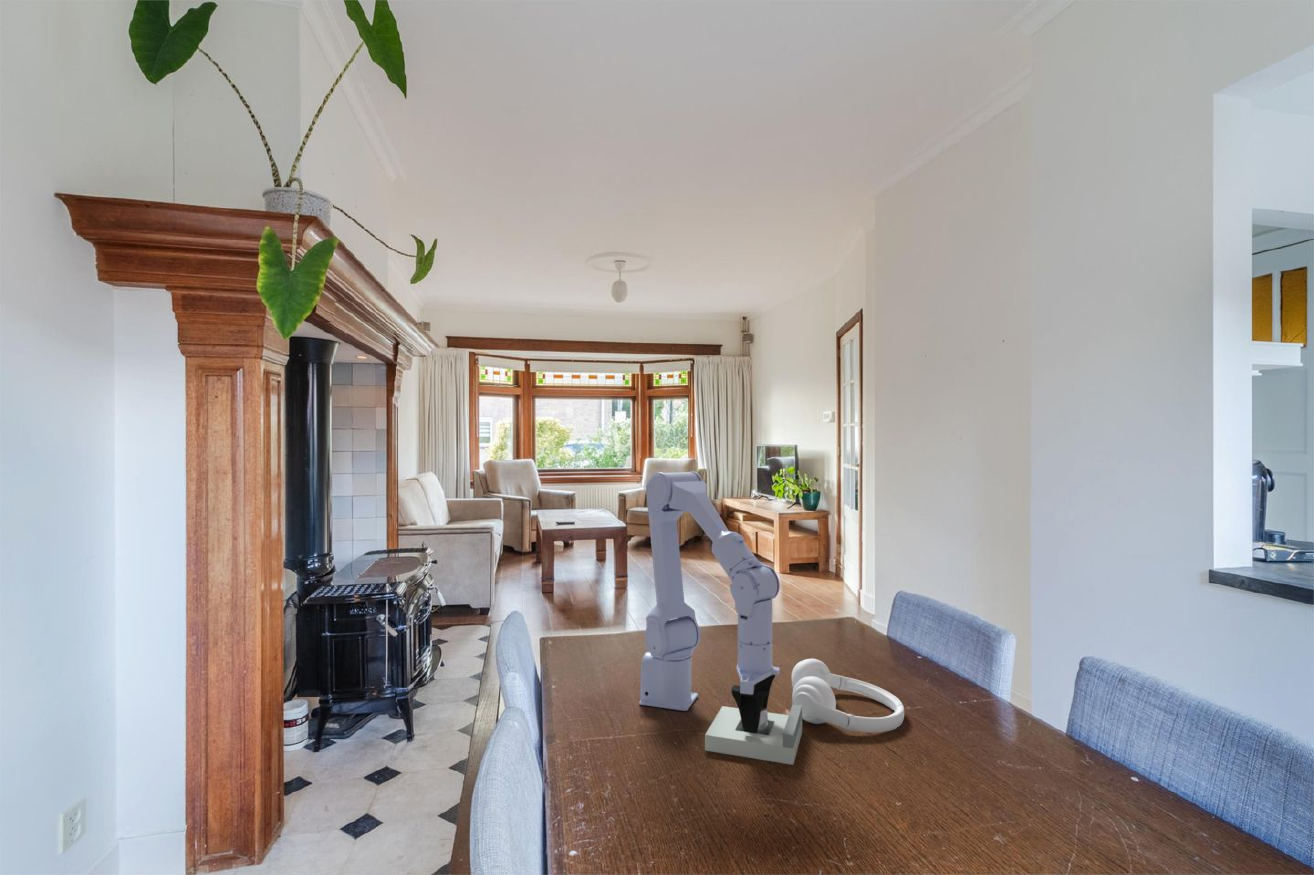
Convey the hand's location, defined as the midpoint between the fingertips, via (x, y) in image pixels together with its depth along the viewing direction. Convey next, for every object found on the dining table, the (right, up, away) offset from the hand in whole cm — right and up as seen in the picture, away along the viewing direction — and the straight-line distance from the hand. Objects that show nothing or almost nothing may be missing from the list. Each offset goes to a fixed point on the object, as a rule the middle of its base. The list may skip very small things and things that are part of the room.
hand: (755, 722), depth 105 cm
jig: (0, -3, 0) cm, 3 cm away
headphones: (+19, -4, +11) cm, 22 cm away
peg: (0, -3, 0) cm, 3 cm away
